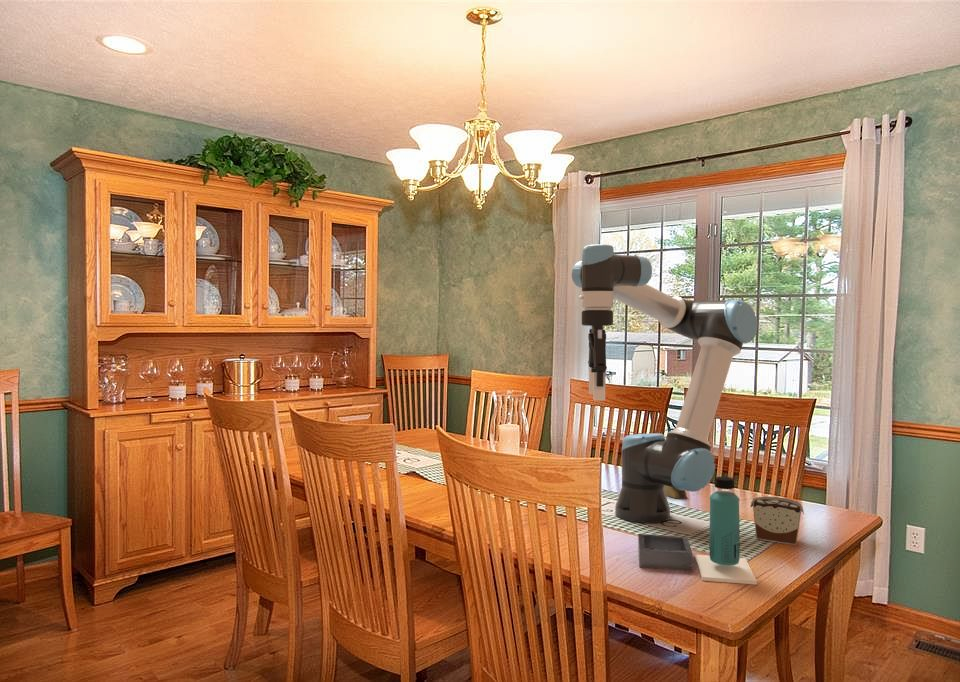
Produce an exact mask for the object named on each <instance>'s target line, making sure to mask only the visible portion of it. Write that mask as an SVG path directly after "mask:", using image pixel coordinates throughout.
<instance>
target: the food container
mask: <svg viewBox="0 0 960 682" xmlns="http://www.w3.org/2000/svg"><path fill="white" fill-rule="evenodd" d="M750 508H752V509H753V519H754V529H755V530H754V531H755V532H754V533H755V539H756V540H759V539H760V541H766V542H772V541H773V543H781V544H786V545H793V546H797V544H798V537H799V529H800V522H801V514H803V515H804V514H805V512H804V507H803V505H802V503H800V502H799V501H797V500H794V499H789V498H787V497H779V496H759V497H754V498H752V501H751V503H750Z"/></svg>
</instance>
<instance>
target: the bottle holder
mask: <svg viewBox="0 0 960 682" xmlns="http://www.w3.org/2000/svg"><path fill="white" fill-rule="evenodd" d="M637 535H638V537H637V538H638V541H637V543H638V544H637V552H638V554H637V556H638V567H639V568H644V567H646V568H647V569H659V570H673V571H684V572H685V571H688V572H693V550H692V546H691V544H690V541H689V537H688V536H681V535H680V536H676V535H664V534H663V535H660V534H649V533H648V534H645V533H638V534H637Z"/></svg>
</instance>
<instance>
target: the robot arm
mask: <svg viewBox="0 0 960 682" xmlns="http://www.w3.org/2000/svg"><path fill="white" fill-rule="evenodd" d="M652 265H653V264H651V261H650V260H649V259H648V258H647V257H644V256H639V255H628V254H627V255H625V254H615V252H614V246H613V245H610V244H606V243H605V244H598V243H597V244H589V245H585V246H584V247H583V248H582V254H581V260H580V261H578V262H576V263H575V264H574V265H573V266H572V269H571V279H572V282H573V283H574V285H575V286H576V287H577V288H580V289H581V295H579V298H578V299H579V300H582V301H581V308H582V309H584V310H582V311H581V325H582V326H583V327H584V326H587V327H589V326H591V328H589V332H588V336H587V337H588V349H589V350H588V361H587V363H588V367H589V368H588V394H589V395H593V397H592V400H593V401H594V402H596V401H597V402H598V401H599V402H600V401H601V402H602V401H604V402H605V401H606V380H607V379H606V375H607V374H606V372H607V368H608V366H607V352H606V350H607V349H606V346H607V345H606V344H607V343H606V342H607V333H606V330H605V329H604V326H606V327H607V326H609V327H611V326H613V324H614V311H613V310H612V308H614V300H616V301H617V302H620V303H621V304H624V305H626V306H628V307H630V308H632V309H634V310H636V311H639V312H640V313H642V314H644V315H647V316H649V317H651V318H653V319H655V320H657V321H658V322H659V324H660V325H661V326H662V327H663V328H666V329H668V330H669V331H672V332H674V333H676V334H677V335H680V336H683V337H685V338H688V339H689V340H690V339H691V340H694V341H697V343H698V344H699V346H700V350H699V354H698V357H697V360H696V363H695V366H694V369H693V372H692V376H691V379H690V382H689V385H688V389H687V392H686V395H685V397H684V401H683V403H682V408H681V411H680V413H679V416H678V420H677V422H676V425H675V428H674V429H672V430H670V431H668V432H667V435H666V438H665V435H664V434H663V433H657V432H656V433H653V432H652V433H637V434H635V433H634V434H629V435H626V436H624V437H623V439H622V445H621V446H622V447H621V487H620V492H619V493H618V497H617V500H616V503H615V506H614V507H615V508H614V509H615V510H614V511H615V512H614V513H615V516H617V517H618V518H620V519H623V520H625V521H626V520H627V521H629V522H630V521H631V522H636V523H645V524H646V523H647V524H648V523H660V522H661V523H662V522H665V521H668V520H670V519H671V508H670V505H669V500H668V498H667V497H668V496H666V494H665V491H664V485H666V486H670V487H674V488H676V489H678V490H682V491H684V490H685V492H690V493H691V492H698V491H701V489H704V488H705V487H706V486H707V485H708V484H709V483H710V482H711V480H712V478H713V476H714V475H715V471H716V470H715V469H716V463H715V461H716V460H715V456H714V454H713V453H712V452H711V450H712V445H711V443H710V441H709V439H708V438H709V435H710V431H711V429H712V426H713V422H714V419H715V416H716V412H717V410H718V406H719V403H720V400H721V396H722V393H723V390H724V386H725V383H726V380H727V377H728V374H729V371H730V370H729V369H730V367H731V364H732V361H733V358H734V357H735V356H737V355H739V354H740V353H741V351H742V348H743V344H748V343H750V342H751V341H753V340H754V338H755V337H756V335H757V332H758V331H757V330H758V319H757V318H758V317H757V316H756V312H755V311H754V309H753V307H752V306H751V305H750V304H749V303H748V302H746V301H744V300H741V299H739V300H738V299H723V300H689V299H684V298H682V297H681V296H676V295H674V296H670V295H669V294H667V293H664V292H662V291H660V290H659V289H656V288H654V287H653V286H651V285H649V284H648V283H649V281H651V278H652V275H653V266H652Z"/></svg>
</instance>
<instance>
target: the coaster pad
mask: <svg viewBox="0 0 960 682" xmlns="http://www.w3.org/2000/svg"><path fill="white" fill-rule="evenodd" d="M694 559H695V563H696V565H697V569H698V571H699V575H700V578H701V581H703V582H715V583H716V582H717V583H729V584H742V585H743V584H744V585H758V580H757V578H756V577H755V574H754V572H753V571H752V569H751V567H750V565H749V563H748V561H747V559H746V558H745V557H740V559H739V563H738V564H736V565H720V564H717V563H714V562H712V561H711V560H710V555H709V554H708V555H706V554H695V555H694Z"/></svg>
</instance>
